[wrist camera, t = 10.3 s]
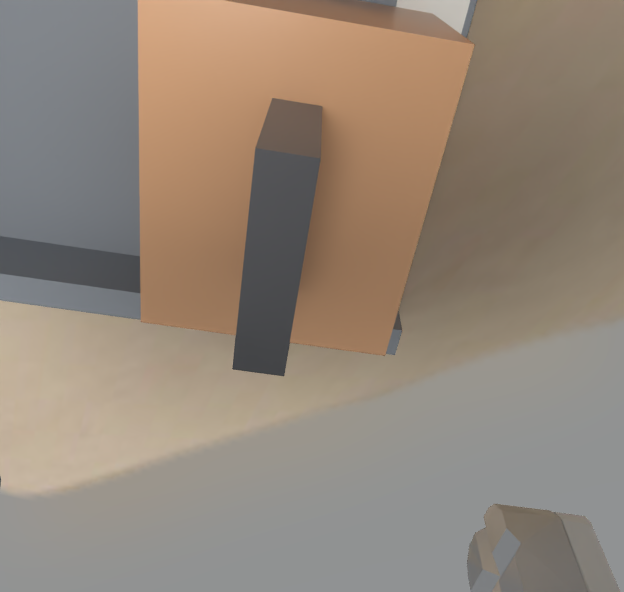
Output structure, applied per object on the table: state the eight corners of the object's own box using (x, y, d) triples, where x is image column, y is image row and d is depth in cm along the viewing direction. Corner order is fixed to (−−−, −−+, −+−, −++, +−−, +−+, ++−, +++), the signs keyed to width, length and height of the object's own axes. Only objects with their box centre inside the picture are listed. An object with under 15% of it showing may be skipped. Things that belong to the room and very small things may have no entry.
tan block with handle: (432, 13, 24) (524, 80, 13) (371, 261, 30) (397, 448, 19) (193, -30, 23) (70, 2, 12) (183, 233, 29) (98, 410, 18)
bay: (495, -81, 23) (526, -84, 19) (387, 310, 33) (394, 354, 29) (-170, -208, 21) (-268, -236, 18) (-65, 245, 31) (-114, 284, 28)
